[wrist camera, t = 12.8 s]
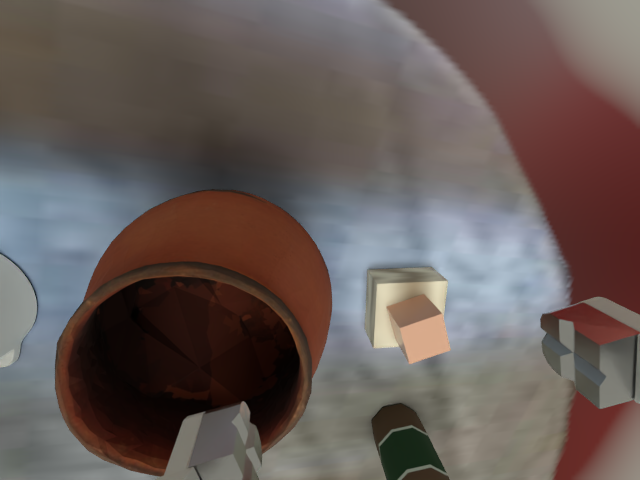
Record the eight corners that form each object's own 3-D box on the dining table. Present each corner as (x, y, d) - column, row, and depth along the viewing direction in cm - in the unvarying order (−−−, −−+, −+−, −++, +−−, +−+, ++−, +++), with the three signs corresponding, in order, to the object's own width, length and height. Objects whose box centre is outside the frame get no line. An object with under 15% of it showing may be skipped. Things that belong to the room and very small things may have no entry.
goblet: (176, 326, 45) (59, 538, 21) (143, 179, 39) (-71, 243, 15) (320, 307, 46) (362, 486, 23) (308, 164, 41) (346, 201, 17)
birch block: (364, 327, 48) (373, 348, 44) (367, 268, 46) (377, 283, 41) (424, 324, 49) (440, 344, 45) (430, 266, 47) (447, 280, 42)
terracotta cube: (395, 339, 44) (409, 364, 39) (386, 306, 42) (399, 328, 37) (432, 327, 44) (450, 350, 39) (424, 293, 42) (442, 313, 37)
